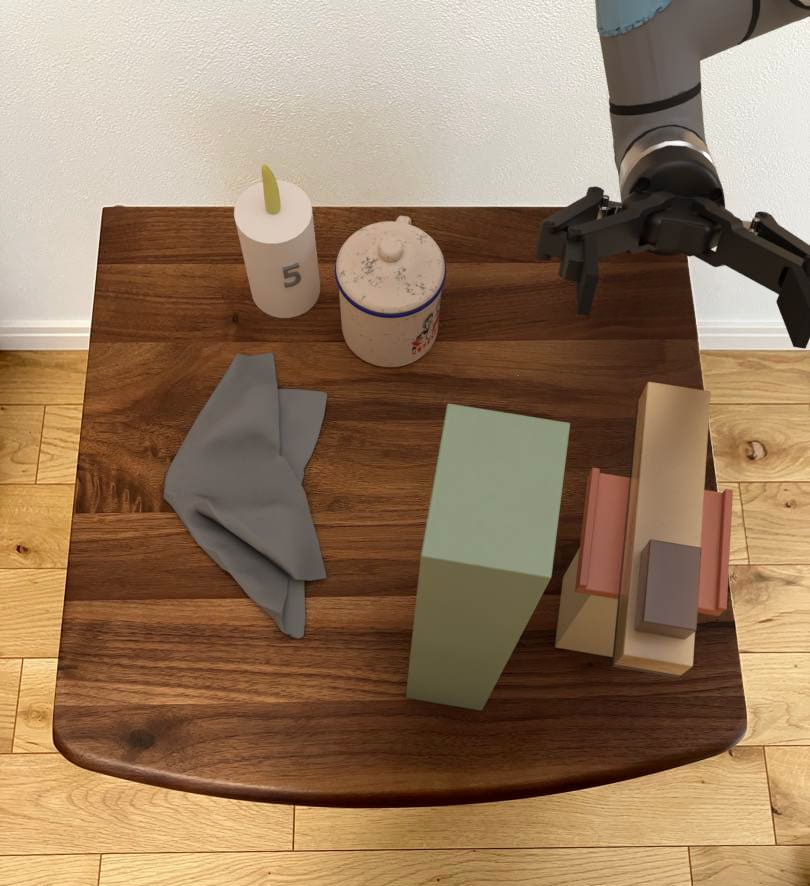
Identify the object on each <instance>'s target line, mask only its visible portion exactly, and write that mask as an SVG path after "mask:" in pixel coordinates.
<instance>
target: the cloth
mask: <svg viewBox="0 0 810 886" xmlns="http://www.w3.org/2000/svg"><path fill="white" fill-rule="evenodd" d="M327 401H328V394H327V393H326V392H325V391H318V390H309V389H298V388H278V381H277V372H276V363H275V354H274V353H271V352H266V353H260V354H254V355H247V354H244V353H239V352H238V353H236V355H235V357H234V358H233V360H232V362H231V364H230V365H229V366H228V368H227V370H226V371H225V373H224V375H223V376H222V377H221V380H220V381H219V383H218V384H217V386H216V387H215V389H214V390H213V392H212V393H211V395H210V397H209V398H208V400H207V401H206V403H205V404H204V406H203V407H202V408H201V410H200V412H199V413H198V415H197V417H196V419H195V420H194V422H193V424H192V426H191V427H190V429H189V431H188V433H187V435H186V436H185V438H184V439H183V442H182V443H181V446H180V447H179V449H178V451H177V452H176V455H175V456H174V459H173V460H172V462H171V463H170V465H169V466H168V470H167V472H166V475H165V479H164V488H163V489H164V490H163V499H164V500H165V501H166V502H167V503H168V504H169V506H171V507H172V509H173V511H174V512H175V513H176V515H177V516H178V518H179V519H180V520H181V522H182V524H183V525H184V527H185V528H186V529H187V531H188V533H189V534H190V535H191V537H192V539H193V540H194V541H195V543H197V545H198V546H199V547H200V548H201V550H203V551H204V552H205V553H206V554H207V555H208V556H209V557H210V558H211V559H212V560H213V561H214V562H215V564H217V565H218V566H219V567H220V569H222V570H224V571H226V572H227V573H229V574H230V575H231V576H232V579H234V580H235V581H236V583H237V584H238V585H239V586H240V588H241V589H242V590H243V591H244V593H246V595H247V596H248V597H249V598H250V599H251V600H252V601H253V602H254V603H255V604H256V605H257V606H258V607H259V608H260V609H262V610H263V611H264V612H265V613H266V614H267V615H268V616H269V617H270V618H271V619H272V620H273V621H274V623H275V624H276V625H277V627H278V628H279V630H280V631H281V633H284V634H286V635H288V636H290V637H292V638H293V639H296V640H300V639H302V638H304V635H305V627H306V619H307V618H306V616H307V615H306V593H305V592H306V590H305V582H306V581H307V582H312V581H313V582H314V581H319V580H320V581H321V580H326V579H328V577H327V572H326V568H325V563H324V559H323V556H322V550H321V548H320V547H321V546H320V542H319V539H318V535H317V531H316V528H315V525H314V521H313V518H312V513H311V510H310V506H309V502H308V498H307V494H306V491H305V489H304V487H303V485H302V484H303V480H304V477H305V468H306V466H307V464H308V463H309V461H310V460H311V457H312V456H313V453H314V451H315V449H316V446H317V443H318V440H319V438H320V434H321V430H322V426H323V422H324V418H325V415H326V408H327V407H326V406H327Z"/></svg>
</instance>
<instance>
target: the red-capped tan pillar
mask: <svg viewBox="0 0 810 886" xmlns="http://www.w3.org/2000/svg"><path fill="white" fill-rule="evenodd" d="M629 479H630V477H629V476H628V477H627V476H622V475H616V474H609V473H603V472H601V468H598V467H592V468H591V470H590V472H589V474H588V476H587V480H586V488H585V498H584V506H583V514H582V523H581V532H580V542H579V548H578V550H577V551H576V553H575V555H574V556H573V558H572V561H571V562H570V563H569V566H568V568H567V569H566V572H565V573H564V575H563V576H562V584H561V592H560V601H559V608H558V609H559V610H558V619H557V626H556V635H555V643H554V648H557V649H561V650H562V649H563V650H569V651H574V652H581V653H586V654H592V655H597V656H598V655H599V656H603V657H610V658H613V647H614V637H615V626H616V616H617V605H618V594H619V584H620V573H621V563H622V552H623V542H624V531H625V521H626V510H627V500H628V489H629ZM733 498H734V490H733V489H728V488H725V489H724V490H723V491H722V492H719V491H715V490H708V489H704V502H703V517H702V533H701V549H702V552H701V567H700V583H699V598H698V614H702V615H709V616H715V617H718V616H720V615H721V614H723V612H725V611H726V610H727V609H728V590H729V589H728V588H729V574H730V573H729V572H730V571H729V570H730V554H731V552H730V551H731V535H732V517H733V516H732V515H733V500H734V499H733Z"/></svg>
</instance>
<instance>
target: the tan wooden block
mask: <svg viewBox="0 0 810 886" xmlns="http://www.w3.org/2000/svg"><path fill="white" fill-rule="evenodd" d="M711 395H712V394H711V391H710V390H704V389H697V388H691V387H686V386H679V385H672V384H667V383H659V382H653V381H647V383H646V384H645V387H644V389H643V391H642V393H641V395H640V397H639V399H638V401H637V403H636V406H635V416H634V417H635V418H634V427H633V437H632V438H633V439H632V449H631V457H630V458H631V459H630V469H629V470H630V471H629V478H630V479H629V489H628V500H627V510H626V521H625V531H624V542H623V552H622V563H621V573H620V584H619V594H618V605H617V616H616V626H615V637H614V647H613V657H611V667H612V668H616V669H617V668H618V669H624V670H629V671H636V672H640V673H641V672H642V673H647V674H653V675H660V676H664V677H671V678H677V679H678V678H680V677H681V676H682V675H684V674H685V673H686V672H687V671H689V670H690V669H691V668H692V667H694V656H695V655H694V654H695V639H696V632H697V630H698V629H697V628H698V627H697V626H698V614H699V613H698V598H699V583H700V567H701V552H702V549H701V533H702V517H703V502H704V490H705V485H706V471H707V470H706V469H707V468H706V467H707V456H708V454H707V453H708V440H709V439H708V438H709V422H710V406H711Z"/></svg>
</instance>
